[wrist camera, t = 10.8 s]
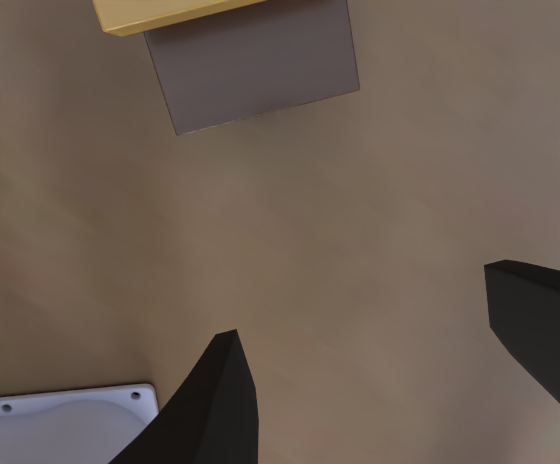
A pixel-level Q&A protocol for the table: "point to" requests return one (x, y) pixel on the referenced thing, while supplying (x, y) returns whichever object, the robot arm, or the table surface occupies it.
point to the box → (239, 54)
